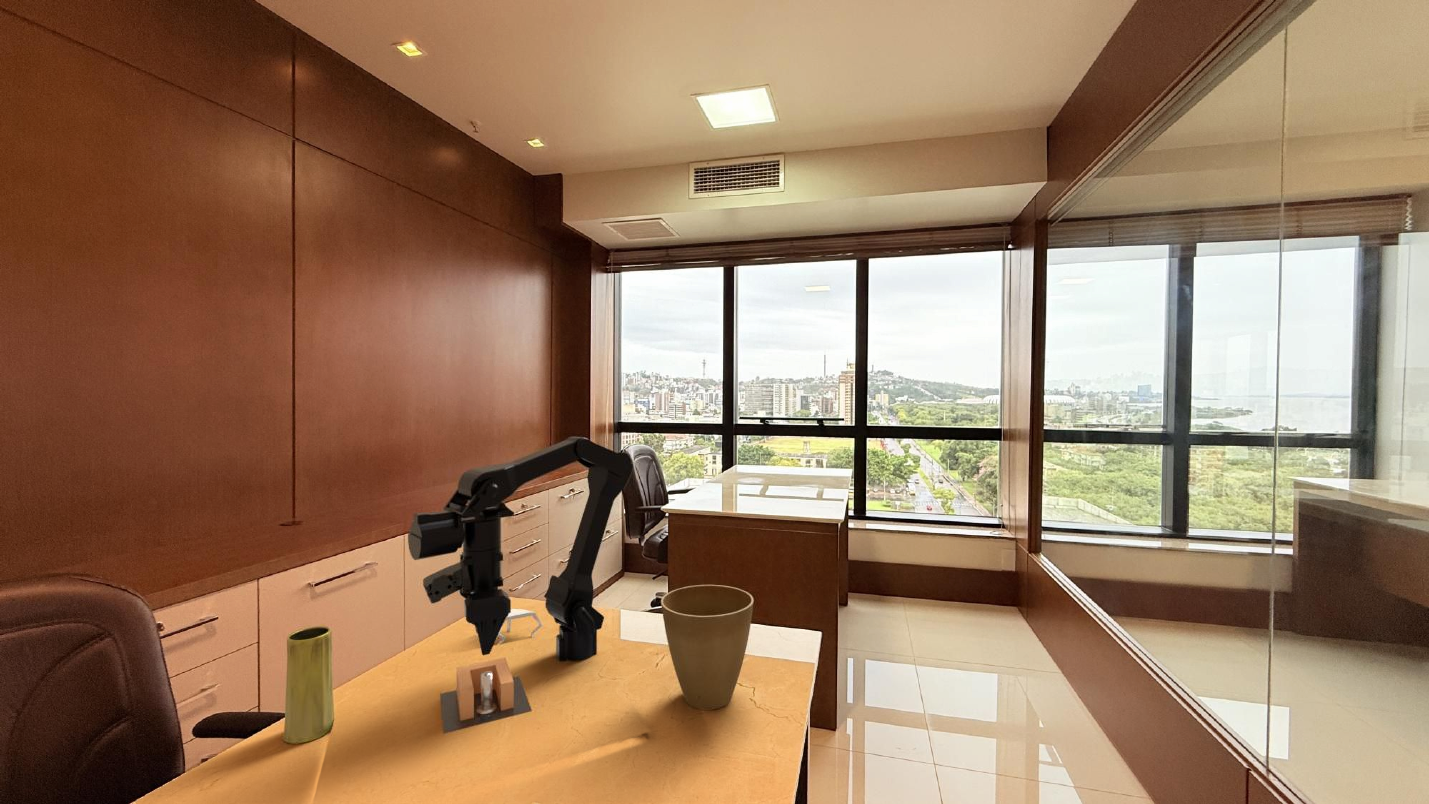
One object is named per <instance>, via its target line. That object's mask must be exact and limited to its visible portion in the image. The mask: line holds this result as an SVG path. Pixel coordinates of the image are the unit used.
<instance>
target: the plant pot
mask: <svg viewBox="0 0 1429 804" xmlns="http://www.w3.org/2000/svg"><path fill="white" fill-rule="evenodd" d="M660 604H661V605H660V606H661V612H662V617H663V626H664V629H665V631H664V632H665V635H666V639H667V640H666V641H667V646H668V649H669V653H670V658H671V661H672V665H673V667H674V671H675V674H676V678H677V680H678V683H679V686H680V688H681V692H682V694H683V697H684V699H685V701H686V703H687V704H688V705H689V706H690V707H692V708H695V709H699V710H705V711H707V710H708V711H710V710H716V709H717V710H718V709H721V708H723V707H725V706H727V705H728V704H729V703H730V701H731V699H732V697H733V694H734V692H735V688H736V686H737V683H738V679H739V677H740V674H741V670H742V665H743V662H744V659H745V654H746V649H747V646H748V642H749V641H748V640H749V637H750V636H749V635H750V631H751V624H752V618H753V611H754V610H753V608H754V597H753V595H752V594H751V593H749V592H748V591H745V590H743V589H742V588H741V589H740V588H737V587H735V586H734V587H733V586H728V585H716V584H699V585H689V586H684V587H680V588H676V589H673V590H671V591H669V592H667V593H666V594H665V595H663V596H662V598H661V600H660Z"/></svg>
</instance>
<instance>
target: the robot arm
mask: <svg viewBox="0 0 1429 804" xmlns="http://www.w3.org/2000/svg"><path fill="white" fill-rule="evenodd" d="M575 462H577V463H578V464H580V465H581V466H582V467H585V468H586V469H587V470H588V472H587V485H588V492H589V493H588V497H587V500H586V503H585V507H584V510H583V512H582V516H581V520H580V522H579V524H578V525H579V526H578V528H577V533H576V536H575V539H574V542H573V544H572V545H573V546H572V548H571V551H570V554H569V557H568V561H567V564H566V567H565V569H564V570H563V571H562V572H561V573H560V574H559V576H556V575H551V576H550V578H549V583H548V588H547V590H546V592H545V593H544V595H543V598H545V603H544V604H545V609H546V611H547V613H548V615H550V616H551V617H553V619H554V622H555V623H556V624H559V627H558V628H559V629H558V632H559V633H558V634H557V635H556V636H555V639H556V640H555V648H556V651H555V656H556V658H557V661H559V662H567V661H568V662H581V661H585V660H587V659H590V658H591V657H593V656H596V655H597V657H598V656H599V655H598V645H597V644H598V633H597V632H598V631H599V630H601V629H602V628H603V627H602V626H603V623H604V619H605V616H604V615H602V613H600V612H599V611H598V610H597V609H596V608H594V607H593V601H594V595H595V589H594V584H593V571H594V569H595V565H596V563H597V562H596V561H597V558H598V555H599V552H600V548H601V545H602V542H603V539H604V535H605V532H606V528H607V525H608V522H609V518H610V516H611V515H610V514H611V511H612V510H613V509H612V508H613V505H614V502H615V500H616V498H617V497H618V496H619V495H620V494H621V493H622V492H623V490H624V489H625V488H626V486H627V485H628V482H629V480H630V478H631V476H632V474H633V470H634V463H633V462H632V459H631V457H630V456H629V455H628V454H627V453H626V452H623V451H622V452H621V451H613V450H611V449H609V448H608V447H604V446H602V445H600V444H597V443H595V442H593V441H591V440H590V439H588V438H587V437H583V436H569V437H567V438H566V439H564V440H562V441H560V442H558V443H555V444H553V445H551V446H550V445H549V446H548V447H545V448H543V449H540V450H537V451H535V452H533V453H529V454H527V455H525V456H522V457H520V458H518V459H514V460H513V461H509V462H505V463H496V464H490V465H484V466H479V467H474V468H471V469H470V468H469V470H467V471H465V472H463V474H461V477H460V479H459V481H458V484H457V489H456V490H455V492H454V493H453V494H452V496H451V497H450V499H449V500H448V501H447V503H446V505H444V507H443V510H439V511H433V512H425V511H424V512H422V511H421V512H417V513H414V514H413V521H412V522H411V525H410V527H409V532H408V533H407V545H408V550H409V554H410V556H411V558H412V559H413V560H414V561H417V560H424V559H428V558H434V557H438V556H443V555H450V554H455V553H457V551H458V549H462V552H461V554H459V562H456V563H454V564H452V565H449V566H446V567H445V568H442V569H440V570H438V571H435V572H434V573H432V574H429V575H428V576H426V577H424V578H423V579H422V586H423V588H424V591H425V593H426V596H427V597H428V599H429V601H430V603H431V604H436V603H439V602H440V601H442V599H444V598H446V597H448V596H450V595H452V594H454V593H456V592H458V591H459V595H460V596H462V598H464V600H463V602H464V603H463V604H464V607H463V609H464V616H465V621H466V622H467V623H468V624H472V625H473V626H474V627H475V631H476V634H477V636H478V642H479V645H480V646H479V647H480V652H481V655H482V656H486V655H489V654H491V652H492V650H493V647H494V644H495V643H496V640H497V638H498V637H497V636H498V634H499V632H501V631H500V629H501V630H502V628H503V626H504V624H505V623H504V621H505V619H506V617H507V616H508V614H509V613H511V609H512V608H511V607H512V606H511V605H512V604H511V598H510V596H509V594H508V593H507V592H506V591H505V590H503V589H502V588H500V587H504V579H503V576H502V561H504V553H503V552H502V518H508V517H513V516H514V515H515V512H514V511H513V510H511V509H510V508H509V507H508V506H507V505H506V502H503V501H506V500H507V499H508V498H509V497H512V496H513V495H514V494H515V492H517V491H518V489H520V488H521V487H522V486H524V485H526V483H530V482H532V481H533V480H536V479H538V478H540V477H543V476H545V475H548V474H550V473H552V472H555V471H557V470H559V469H561V468H564V467H565V466H568V465H570V464H572V463H575ZM505 622H506V621H505ZM503 623H504V624H503ZM502 625H503V626H502ZM501 627H502V628H501Z"/></svg>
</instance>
